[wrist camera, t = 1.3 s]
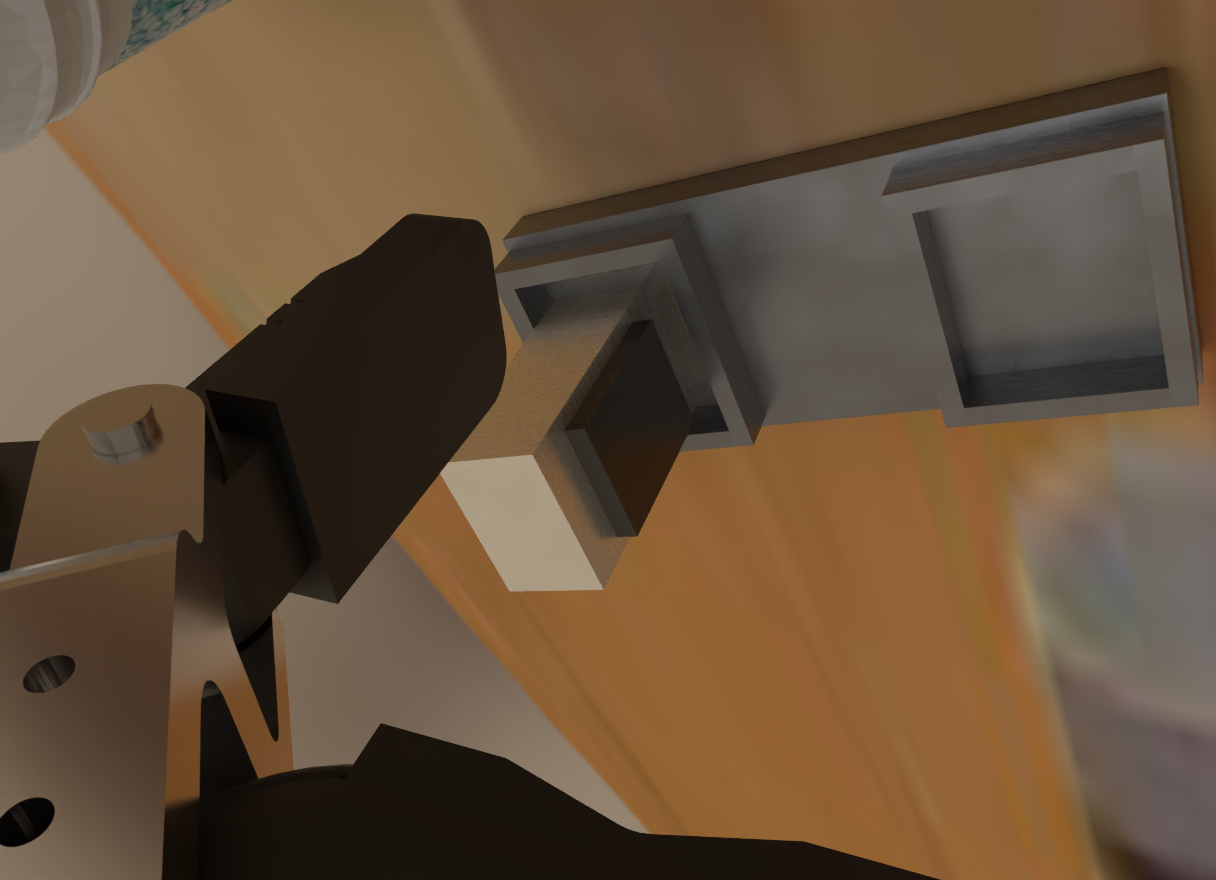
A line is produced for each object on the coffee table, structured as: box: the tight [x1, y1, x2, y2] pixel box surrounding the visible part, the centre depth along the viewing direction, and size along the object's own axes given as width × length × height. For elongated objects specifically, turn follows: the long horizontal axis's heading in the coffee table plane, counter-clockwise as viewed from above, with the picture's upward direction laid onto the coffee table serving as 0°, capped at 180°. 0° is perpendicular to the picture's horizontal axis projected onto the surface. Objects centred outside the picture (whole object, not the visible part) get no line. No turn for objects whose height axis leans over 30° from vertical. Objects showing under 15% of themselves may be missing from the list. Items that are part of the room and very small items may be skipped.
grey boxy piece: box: [440, 68, 1203, 591], centre depth 28 cm, size 18×8×10 cm, turn 114°
